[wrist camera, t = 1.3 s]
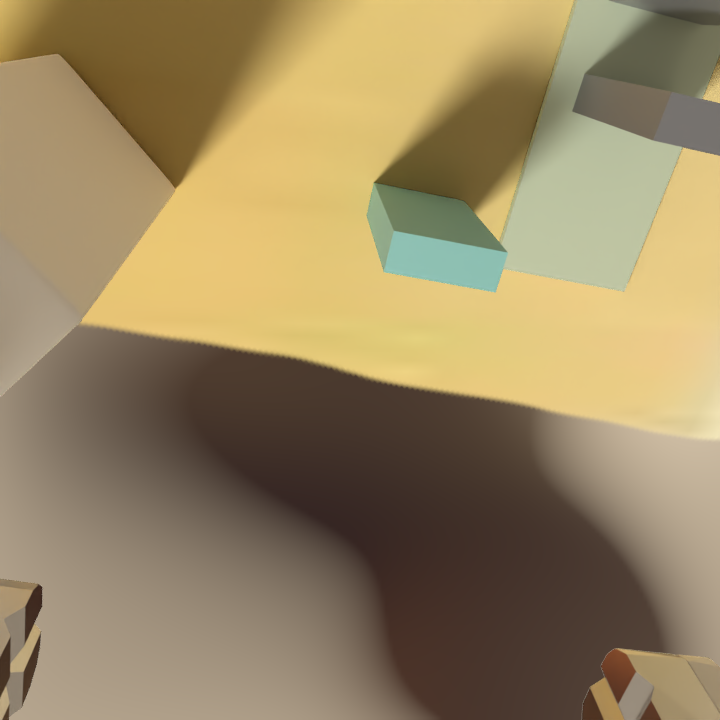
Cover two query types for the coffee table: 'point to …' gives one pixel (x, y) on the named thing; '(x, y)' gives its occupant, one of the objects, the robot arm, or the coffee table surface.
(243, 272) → the coffee table surface
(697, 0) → the domino
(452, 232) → the domino
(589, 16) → the runner mat
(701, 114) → the domino
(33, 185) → the milk carton
